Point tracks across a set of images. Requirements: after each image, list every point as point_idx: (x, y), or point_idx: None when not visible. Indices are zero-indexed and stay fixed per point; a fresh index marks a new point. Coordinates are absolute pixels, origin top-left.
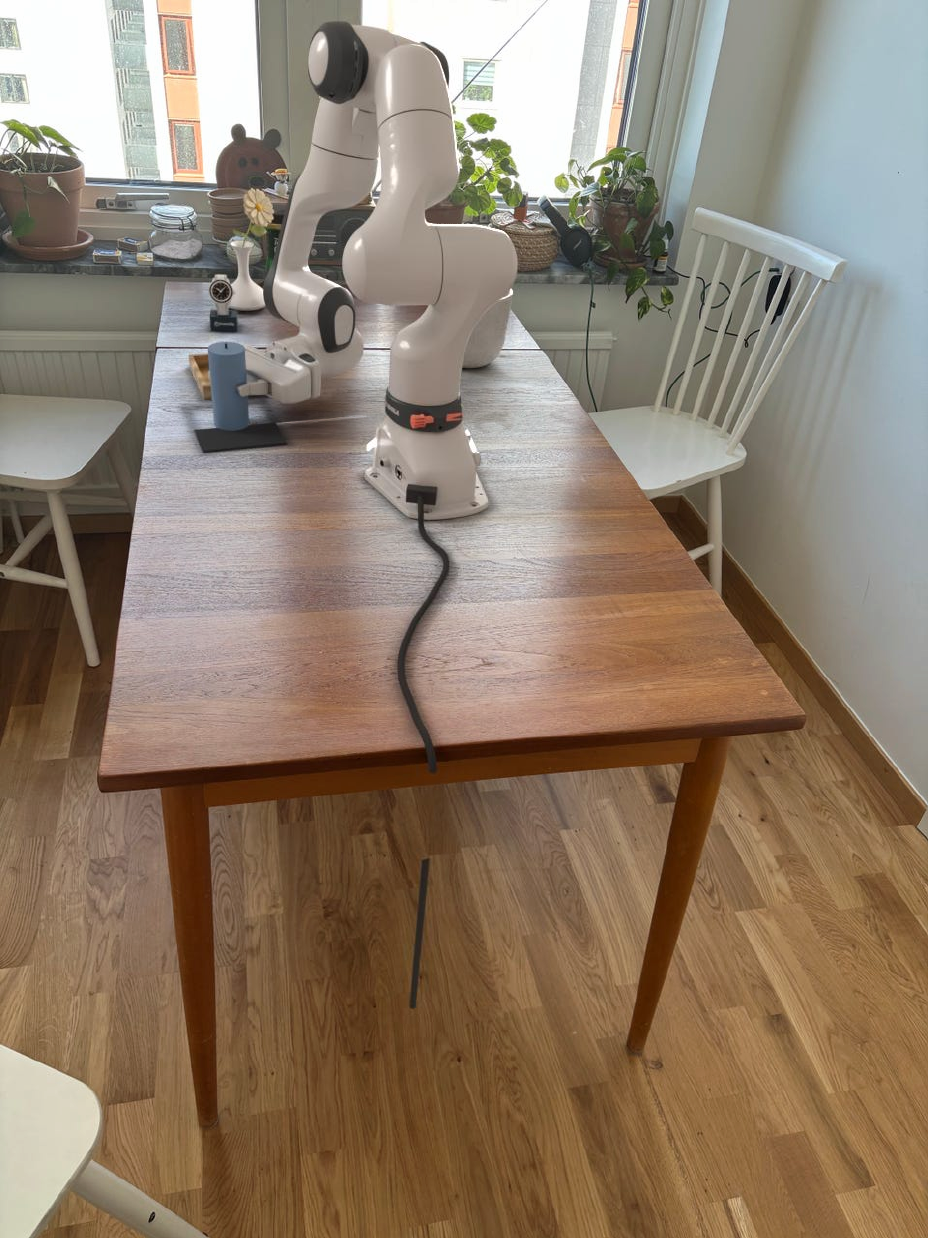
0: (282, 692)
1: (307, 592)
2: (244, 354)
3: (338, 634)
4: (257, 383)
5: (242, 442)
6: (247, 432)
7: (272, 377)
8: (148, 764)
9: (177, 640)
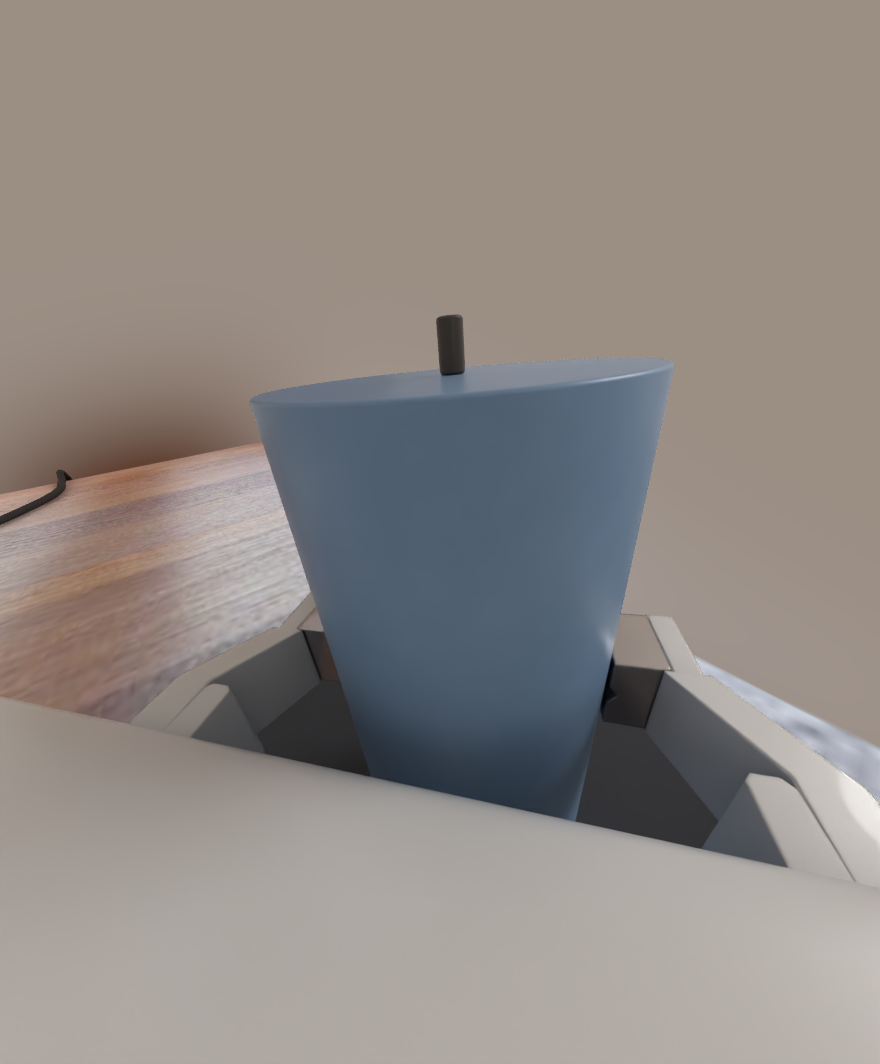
0: (170, 470)
1: (141, 507)
2: (268, 457)
3: (113, 496)
4: (216, 659)
5: (340, 691)
6: (360, 769)
7: (12, 737)
8: (244, 445)
9: (257, 464)
